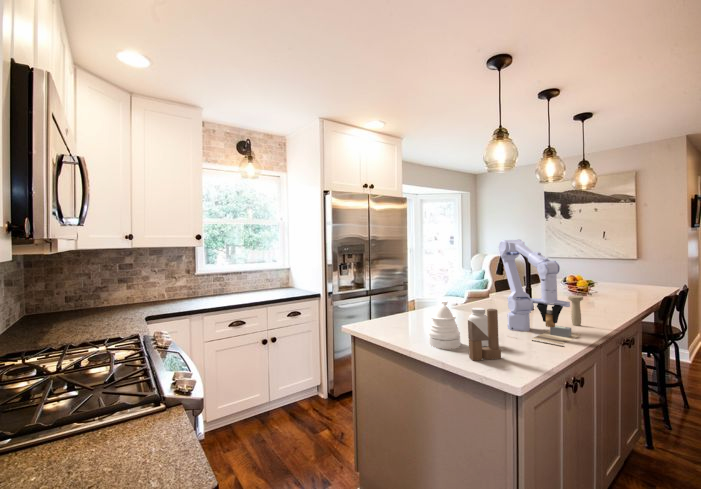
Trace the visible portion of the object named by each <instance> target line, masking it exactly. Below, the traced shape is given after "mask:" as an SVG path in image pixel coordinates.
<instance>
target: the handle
mask: <svg viewBox="0 0 701 489" xmlns="http://www.w3.org/2000/svg"><path fill="white" fill-rule="evenodd" d="M567 298H568V300H569V301H570V302H571V324H572V326H575V327H581V326H582V310H581V302H582V301H583V300H584V296H581V295H570V296H569V295H568V297H567Z"/></svg>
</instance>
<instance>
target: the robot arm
mask: <svg viewBox="0 0 701 489" xmlns="http://www.w3.org/2000/svg"><path fill="white" fill-rule="evenodd" d="M497 248H498V251H499V255H500V258H501V260H502V264H503V267H504V271H505V274H506V278H507V283H508V286H509V289H510V292H511V293H510V294H509V295H508V297H507V307H508V309H509V310H508V311H510V312H507V330H509V331H521V332H529V331H530V330H531V324H530V323H531V322H530V321H531V319H530V314H531V313H532V311H533V310H534V304H537V305H536V308H537V310H539V313H540V315H541V319H542V322H544V323H546V321H545V314H547V312H546V310H548V306H551V310H552V311H553V322H554V323H555V324H558V321H559V316H560V314H561V312H562V310H563V308H564V307H565V308H570V307H571V301H567V300H566V301H564V300H559V299H558V281H557V279H558V278H557V275H558V274H559V273H560V268H561V267H560V264H559V263H558V262H557V261H556V260H550V259H549V258H547V257H545V256H544V255H542V253H541V252H540V251H533V250H532V249H530V248H529V247H528V246H526V244H525V241H523V240H522V239H502V240H500V241H499V245H498V246H497ZM520 255H522V256H523V257H525V258H527V262H528V263H529V264H531V265H532V266H533V267H535V268H536V271H537V273H538V276H539V277H538V278H539V279H540V289H541V290H540V293H541V295H540V296H541V298H533V297H530V294H529V293H527V292H525V291H524V288H523V285H522V281H521V277H520V273H519V271H518V267H517V264H516V261H515V260H516V259H517V258H518V257H519V256H520Z"/></svg>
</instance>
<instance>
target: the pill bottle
mask: <svg viewBox="0 0 701 489" xmlns="http://www.w3.org/2000/svg"><path fill="white" fill-rule="evenodd" d="M468 320H469V321H471V322H473V323H474V324H475V325H476V326H477V327H478V328H479V329H480V330H481V331H482V332H483V333H484V334H485V335H487V336H488V323H487V314H486V309H485V308H484V307H472V308H471V314H470V315H469V316H468ZM483 347H488V340H484V341H482V348H483Z"/></svg>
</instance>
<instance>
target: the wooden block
mask: <svg viewBox="0 0 701 489" xmlns="http://www.w3.org/2000/svg"><path fill="white" fill-rule="evenodd" d="M498 311H499V310H498V309H497V308H487V309H486V316H487V323H488V336H487V335H485V334H484V333H483V332H482V331H481V330H480V329H479V328H478V327H477V326H476V325H475V324H474V323H473V322H471V321H469V319H467V336H468V355H469V356H468V357H469V358H468V359H470V360H472V362H473V361H474V362H476V361H478V362H479V361H483V360H485V361H486V360H487V361H489V360H490V361H491V360H501V359H502V350H501V348H500V344H499V343H500V342H499V341H500V340H499V339H500V338H499V315H498V314H499V313H498ZM484 340H488V346H483V347H482V341H484Z"/></svg>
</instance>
